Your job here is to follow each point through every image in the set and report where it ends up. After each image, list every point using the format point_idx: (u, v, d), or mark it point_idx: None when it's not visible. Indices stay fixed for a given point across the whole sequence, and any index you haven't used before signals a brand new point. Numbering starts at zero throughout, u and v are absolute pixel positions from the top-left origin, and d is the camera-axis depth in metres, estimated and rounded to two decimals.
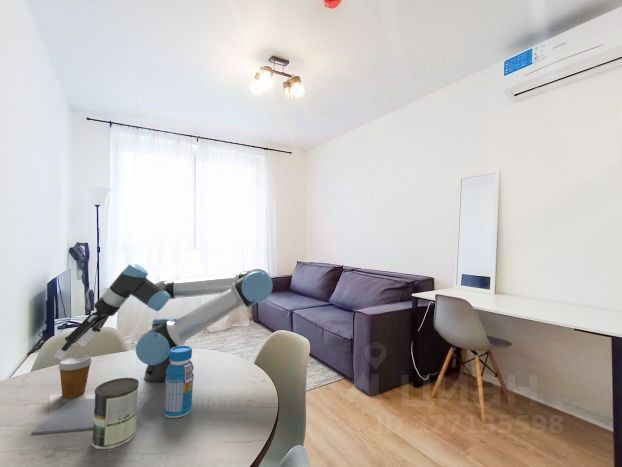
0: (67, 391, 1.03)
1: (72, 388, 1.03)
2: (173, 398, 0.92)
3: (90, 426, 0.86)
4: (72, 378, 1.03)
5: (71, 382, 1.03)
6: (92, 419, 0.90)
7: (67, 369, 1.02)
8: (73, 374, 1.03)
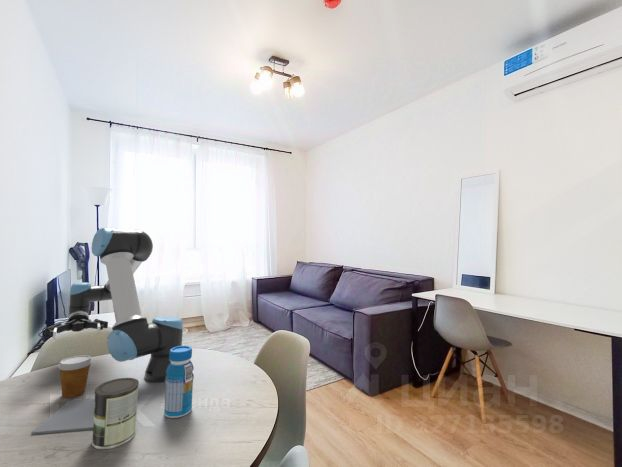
0: (67, 391, 1.03)
1: (72, 388, 1.03)
2: (173, 398, 0.92)
3: (90, 426, 0.86)
4: (72, 378, 1.03)
5: (71, 382, 1.03)
6: (92, 419, 0.90)
7: (67, 369, 1.02)
8: (73, 374, 1.03)
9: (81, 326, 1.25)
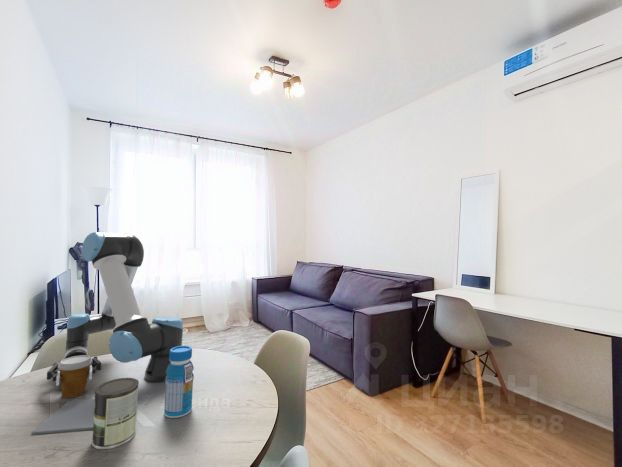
0: (67, 391, 1.03)
1: (72, 388, 1.03)
2: (173, 398, 0.92)
3: (90, 426, 0.86)
4: (72, 378, 1.03)
5: (71, 382, 1.03)
6: (92, 419, 0.90)
7: (67, 369, 1.02)
8: (73, 374, 1.03)
9: None
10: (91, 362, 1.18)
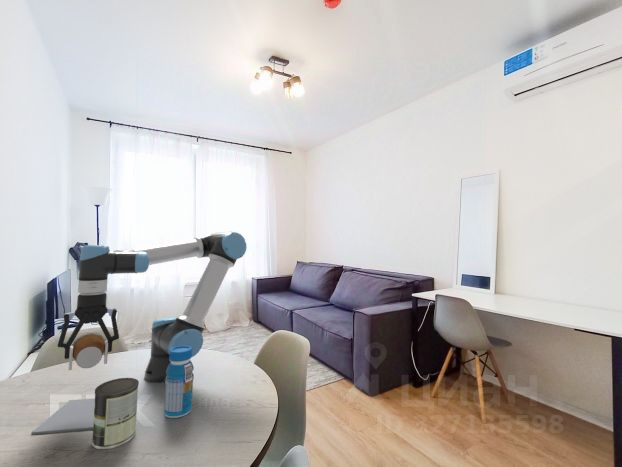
0: None
1: None
2: (173, 398, 0.92)
3: (90, 426, 0.86)
4: None
5: None
6: (92, 419, 0.90)
7: None
8: None
9: None
10: None
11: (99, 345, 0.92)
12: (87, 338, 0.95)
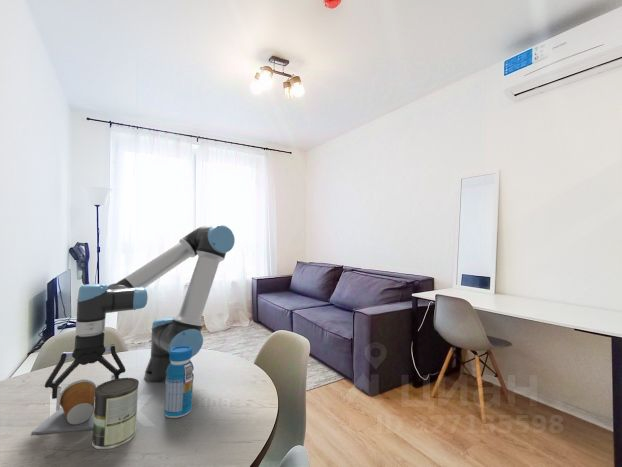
0: None
1: None
2: (173, 398, 0.92)
3: (90, 426, 0.86)
4: None
5: None
6: (92, 419, 0.90)
7: None
8: None
9: None
10: (67, 359, 0.91)
11: (85, 398, 0.89)
12: (70, 392, 0.91)
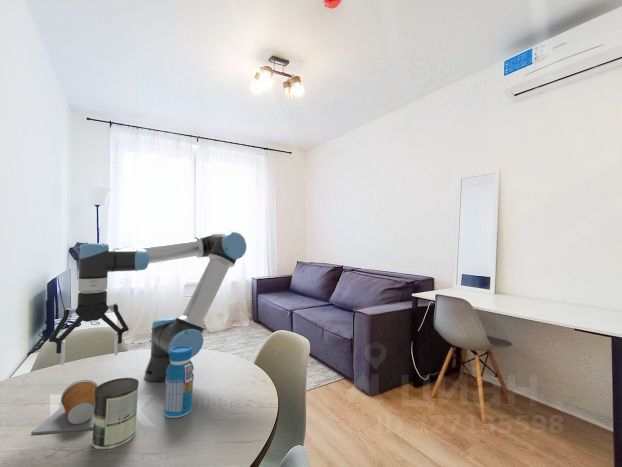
0: None
1: None
2: (173, 398, 0.92)
3: (90, 426, 0.86)
4: None
5: None
6: (92, 419, 0.90)
7: None
8: None
9: None
10: (70, 315, 0.92)
11: (87, 398, 0.90)
12: (73, 391, 0.91)
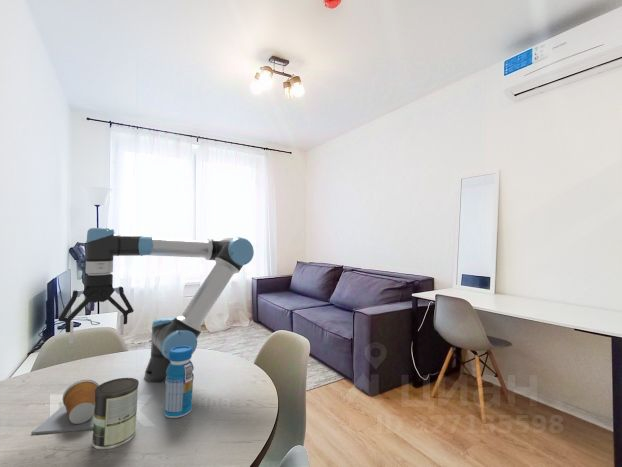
0: None
1: None
2: (173, 398, 0.92)
3: (90, 426, 0.86)
4: None
5: None
6: (92, 419, 0.90)
7: None
8: None
9: None
10: (78, 296, 0.96)
11: (89, 398, 0.90)
12: (76, 390, 0.92)
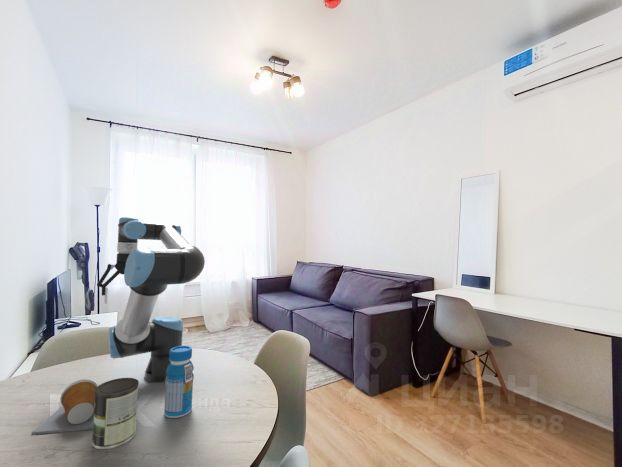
0: None
1: None
2: (173, 398, 0.92)
3: (90, 426, 0.86)
4: None
5: None
6: (92, 419, 0.90)
7: None
8: None
9: None
10: None
11: (86, 398, 0.89)
12: (72, 391, 0.91)
